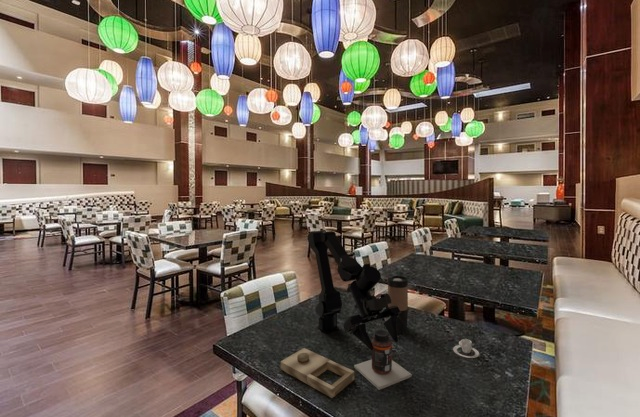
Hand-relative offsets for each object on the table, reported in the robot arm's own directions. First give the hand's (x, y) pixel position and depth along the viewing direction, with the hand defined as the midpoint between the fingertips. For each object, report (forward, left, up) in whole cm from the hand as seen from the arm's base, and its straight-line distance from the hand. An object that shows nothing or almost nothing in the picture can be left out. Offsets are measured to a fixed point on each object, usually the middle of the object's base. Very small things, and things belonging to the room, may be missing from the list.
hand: (385, 345), depth 91 cm
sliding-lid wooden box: (+17, -12, -9) cm, 22 cm away
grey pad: (0, -1, -9) cm, 9 cm away
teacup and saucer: (-34, +8, -10) cm, 36 cm away
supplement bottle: (0, -2, -8) cm, 8 cm away
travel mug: (-26, -18, -9) cm, 33 cm away
